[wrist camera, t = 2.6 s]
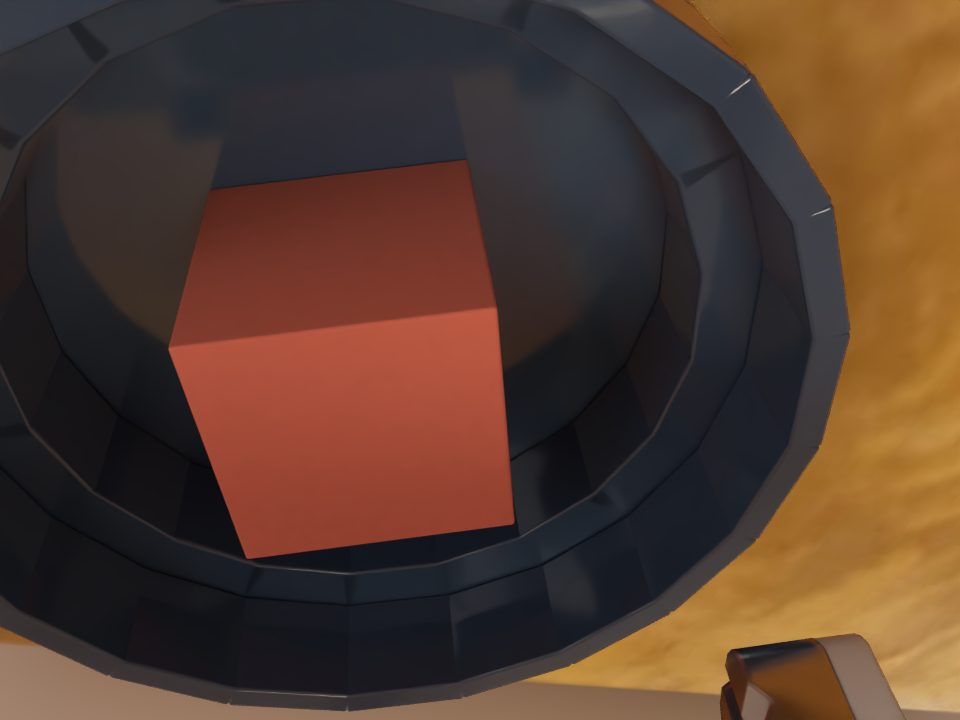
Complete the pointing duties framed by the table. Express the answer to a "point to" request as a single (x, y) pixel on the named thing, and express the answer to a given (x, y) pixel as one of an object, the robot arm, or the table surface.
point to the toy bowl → (521, 315)
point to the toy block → (347, 359)
